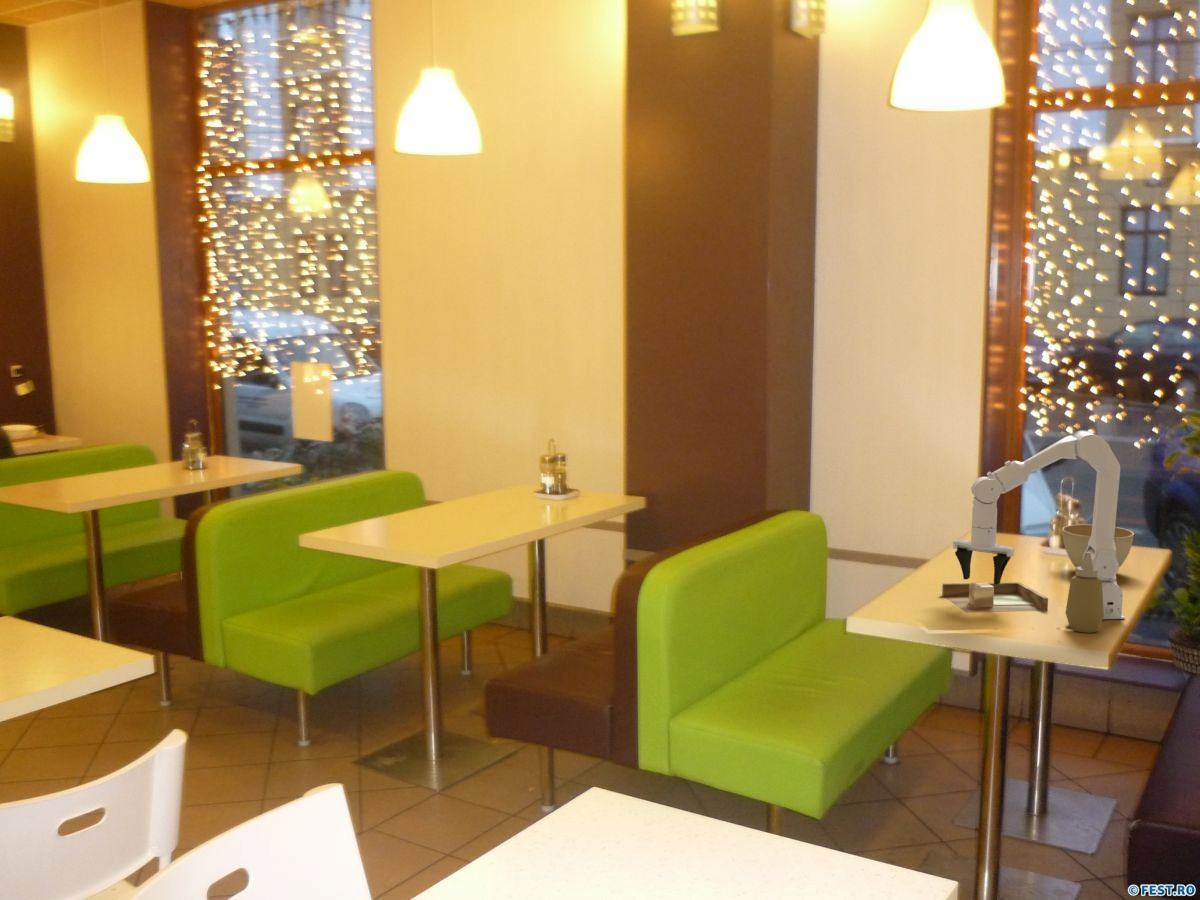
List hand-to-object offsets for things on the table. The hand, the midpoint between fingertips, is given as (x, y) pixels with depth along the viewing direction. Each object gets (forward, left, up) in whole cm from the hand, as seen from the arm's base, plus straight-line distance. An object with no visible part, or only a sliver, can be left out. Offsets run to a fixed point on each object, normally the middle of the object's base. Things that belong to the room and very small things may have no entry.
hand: (981, 581), depth 276 cm
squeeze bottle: (-20, -16, -7) cm, 27 cm away
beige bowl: (+33, -46, -7) cm, 57 cm away
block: (0, 0, -6) cm, 6 cm away
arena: (+2, -4, -7) cm, 8 cm away
